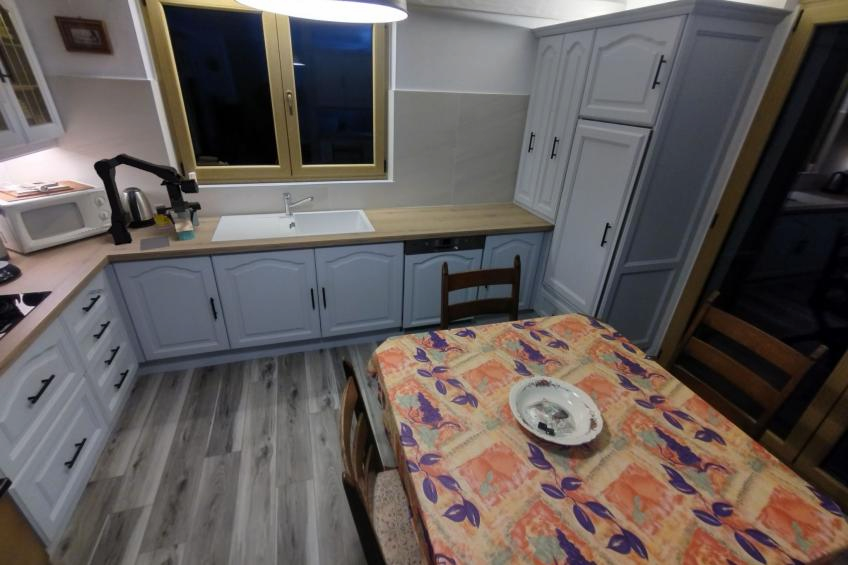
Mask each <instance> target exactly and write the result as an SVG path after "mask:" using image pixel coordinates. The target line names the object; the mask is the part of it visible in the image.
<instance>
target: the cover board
mask: <svg viewBox="0 0 848 565" xmlns="http://www.w3.org/2000/svg"><path fill="white" fill-rule="evenodd" d="M173 220H174V222H175V226H174V227H175V230H176V233H177V232H181V231H188V230H193V231H194V226H192V223H191V220H190V217H187V218H179V217H178V218H173Z"/></svg>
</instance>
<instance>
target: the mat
mask: <svg viewBox="0 0 848 565" xmlns="http://www.w3.org/2000/svg"><path fill="white" fill-rule="evenodd" d="M169 239H170V238H169V234H168V235H161V236H156V237H155V236H154V237H146V238H141V239H140V243H139V244H140V246H139V249H140V250H139V251H140V252H142V251H150V250H155V249H162V248H167V247H168V248H169V247H171V245H170V244H171V243H170V240H169Z"/></svg>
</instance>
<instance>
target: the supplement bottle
mask: <svg viewBox="0 0 848 565" xmlns="http://www.w3.org/2000/svg"><path fill="white" fill-rule="evenodd" d="M152 206H153V210H152V214H153V217H154V221H155V223H156V224H155V225H156V227H157V229H158V230H165V229H170V228H172V222H171V220H170V219H169V218H168V217H167V216H164V215H163V214H161V215H158V214H157V211H156V207H157V206H165V205H164V203H154V204H153V205H152Z"/></svg>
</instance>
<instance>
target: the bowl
mask: <svg viewBox="0 0 848 565" xmlns="http://www.w3.org/2000/svg"><path fill="white" fill-rule="evenodd" d="M176 233H177V236H178V239H179V241H190V240H194V239H195V238H196V235H195V232H194V229H193V230H188V231H181V232H177V231H176Z"/></svg>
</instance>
